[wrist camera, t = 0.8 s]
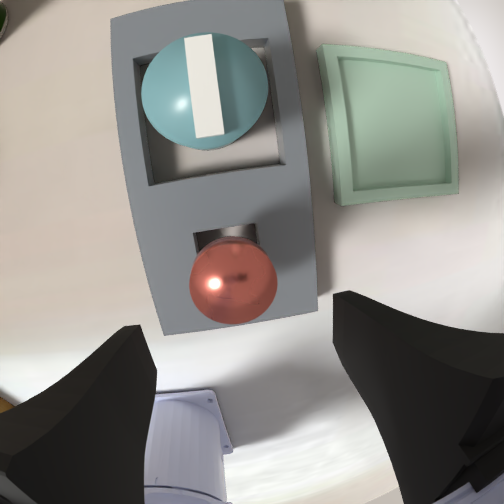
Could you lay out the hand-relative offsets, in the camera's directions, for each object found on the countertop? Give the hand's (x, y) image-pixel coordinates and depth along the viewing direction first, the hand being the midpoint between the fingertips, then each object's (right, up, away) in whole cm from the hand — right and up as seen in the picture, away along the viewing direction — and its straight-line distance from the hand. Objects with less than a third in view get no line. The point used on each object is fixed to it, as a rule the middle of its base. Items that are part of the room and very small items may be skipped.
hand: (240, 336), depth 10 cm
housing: (-2, +8, +7) cm, 11 cm away
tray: (+10, +11, +7) cm, 17 cm away
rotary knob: (-2, +11, +6) cm, 13 cm away
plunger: (-1, +2, +7) cm, 7 cm away
